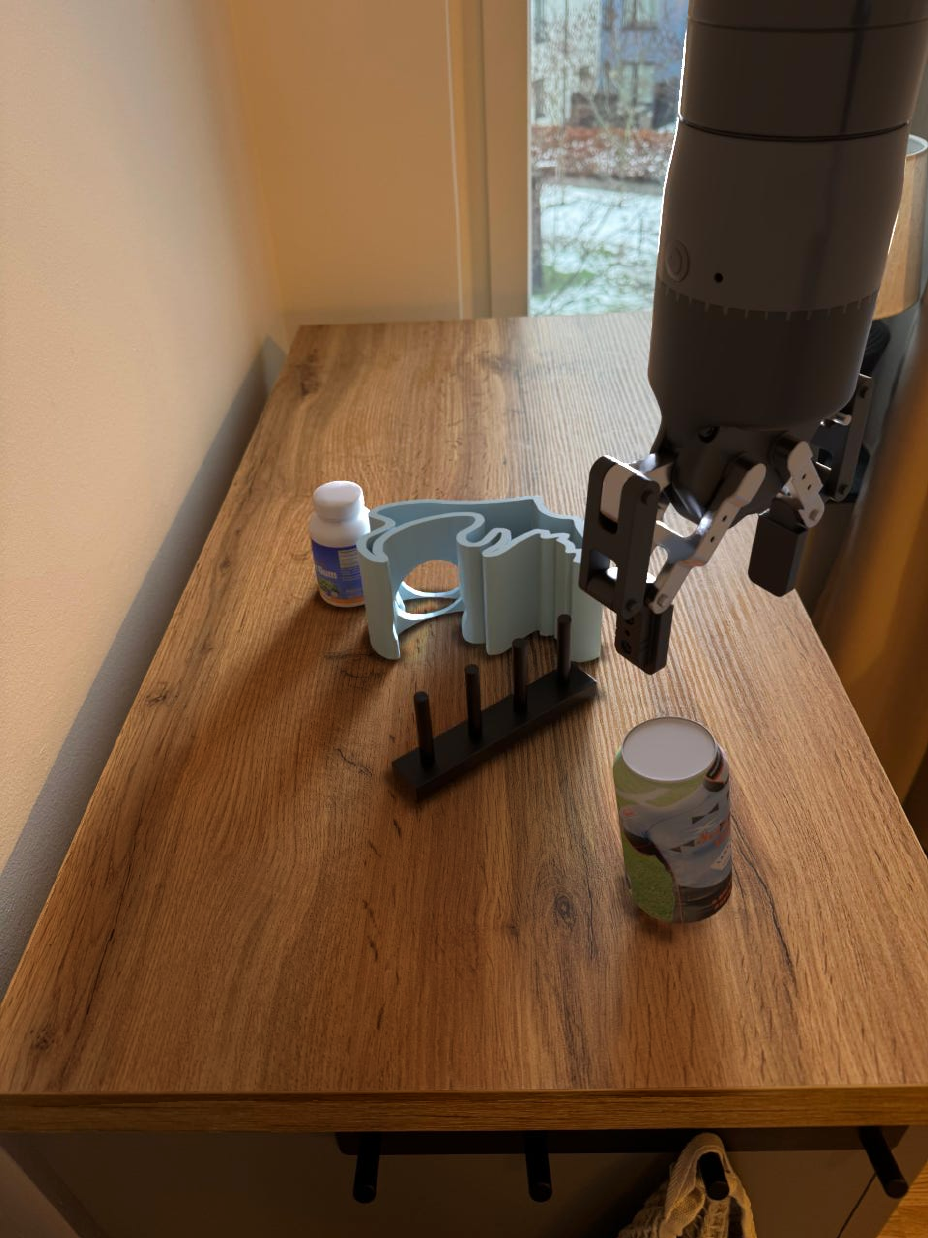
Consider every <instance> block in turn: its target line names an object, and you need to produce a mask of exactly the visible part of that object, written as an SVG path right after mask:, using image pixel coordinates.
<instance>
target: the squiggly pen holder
mask: <svg viewBox="0 0 928 1238" xmlns="http://www.w3.org/2000/svg"><path fill="white" fill-rule="evenodd" d="M368 518H369V525H370V532H369V533H367V534H365V535H363V536H361V537H360V538H359V539H358V541H357V543H356V547H357V554H358V560H359V567H360V574H361V581H362V587H363V594H364V601H365V604H364V607H365V613H366V620H367V627H368V633H369V640H370V645H371V648H373V650H374V651H375V652H376V653H377V654H378V655H380V656H381V657H383V658H386V659H387V660H399V659H400V658H401V652H400V644H399V642H400V641H399V635H401V634H402V633H403V632H404V631H406V630H407V629H410V628H411V627H412V626H415V625H416V624H418V623H421V622H423V621H425V620H429V619H432V618H435V617H438V616H442V615H448V614H452V613H458V612H463V614H462V617H461V630H462V631H461V632H462V637H463V639H464V640H465V642H468V643H470V644H473V645H478V644H479V645H482V644H485V645H486V646H485V647H486V654H487V655H489V656H495V655H499V654H502V653H505V652H506V651H508V650H509V649H510V648H512V642H513V640H514V639H517V638H522V639H524V638H526V637H527V636H528V635H530V634H532V633H534V632H537V631H539V634H540V636H542V637H543V636H544V637H548V636H553V637H554V639H555V640H557V618H558V616H560V615H562V614H567V615H570V616H571V618H572V634H571V662H575V663H584V662H590V661H593V660H596V659H597V658H600V656H601V647H602V632H603V630H602V629H603V612H604V605H603V604H601V603H600V602H598V601H597V600H595V599H594V598H593V597H591V596H590V595H588V594H587V593H585V592H584V591H583V590H581V589H580V588H579V586H578V580H579V570H580V560H581V550H582V540H583V530H584V519H583V518H582V517H581V516H579V515H569V514H567V515H565V514H560V513H556V512H554V511H552V510H551V509H549V508H548V507H547V505H546V503H545V502H544V499H543V498H542V497H541V495H525V496H524V495H523V496H516V497H515V496H514V497H507V498H496V499H484V500H483V499H482V500H450V499H436V498H423V499H410V500H403V501H402V500H401V501H395V502H389V503H385V504H381V505H378V506H376V507H373V508H372V509H369V512H368ZM432 561H444V562H447V563H451V564H453V565H455V566H456V567H457V569H458V572H457V573H458V585H457V586H456V587H455V588H454V589H452V590H451V589H450V590H447V591H442V592H423V591H420V590H417V589H414V588H412V587H411V586H409V585H407V584H406V582H405V579H406V578H407V577H408V575H410V573H411V572H412V571H413V570H415V569H416V568H417V567H418V566H421V565H423V564H425V563H427V562H432ZM424 598H425V599H426V598H447V599H456V600H455V601H454V602H453V603H452V604H450V605H448V606H446V607H445V608H442V609H439V610H437V611H434V612H429V613H424V614H423V613H421V614H419V613H409V612H406V605H405V603H404V601H408V600H413V599H414V600H415V599H424Z"/></svg>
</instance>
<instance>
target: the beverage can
mask: <svg viewBox="0 0 928 1238" xmlns="http://www.w3.org/2000/svg"><path fill="white" fill-rule="evenodd" d="M714 736H715V735H713V733H712V732H711V731H710V730H709V728H708V727H706V726H704V725H703V724H702V723H700V722H698V721H696V720H693V719H691V718H688V717H684V716H677V715H663V716H656V717H652V718H651V717H650V718H648V719H645V720H643V721H640V722H638V723H636V725H634V726H632V727H631V728H630V729H629V730H628V731H627V732H626V734H625V735H624V737H623V739H622V742H621V744H620V747H619V748H618V749H617V751H616V754H615V755H614V758H613V763H612V768H611V769H612V779H613V786H614V793H615V794H614V795H615V801H616V810H617V817H618V823H619V824H618V825H619V833H620V840H621V846H622V847H621V848H622V849H621V850H622V855H623V863H624V870H625V871H624V872H625V879H626V886H627V889H628V894H629V895H630V897H631V899H632V901H633V902H634V903H635V904H636V905H637V907H638V908H639V909H640V910H641V911H643V912H644V913H645V914H647V915H648V916H650V917H652V918H654V919H657V920H660V921H662V922H666V923H670V924H680V925H683V924H685V925H686V924H693V923H697V922H701V921H704V920H707V919H709V918H711V917H712V916H714V915H716V914H717V913H718V912H719V911H720V910H722V909H723V907H724V906H725V905H726V904H727V902H728V901H729V899H730V897H731V894H732V889H733V858H732V854H733V853H732V825H731V824H732V821H731V820H732V819H731V790H730V789H731V787H730V786H731V785H730V784H731V783H730V764H729V760H728V757H727V755H726V753H725V751H724V749H723V747H721V745H720V744H719V743H718V741H716V739H715V737H714Z"/></svg>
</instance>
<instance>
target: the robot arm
mask: <svg viewBox="0 0 928 1238" xmlns="http://www.w3.org/2000/svg"><path fill="white" fill-rule="evenodd" d="M687 15H688V17H686V25H685V26H686V27H685V34H684V35H685V36H684V37H685V38H684V47H683V59H682V67H681V68H682V69H681V79H680V90H679V101H678V116H677V121H676V127H675V128H676V129H675V135H674V140H673V144H672V148H671V149H672V150H671V154H670V157H669V162H668V167H667V172H666V176H665V181H664V187H663V194H662V203H661V213H660V226H659V234H658V235H659V236H658V245H657V257H656V268H655V279H654V289H653V291H654V293H653V302H652V312H651V322H650V323H651V324H650V336H649V344H648V345H649V347H648V359H647V367H646V375H647V380H648V384H649V386H650V389H651V391H652V393H653V396H654V398H655V400H656V402H657V405H658V409H659V412H660V417H661V419H660V424H659V428H658V430H657V434H656V436H655V438H654V440H653V443H652V445H651V448H650V450H649V453H648V455H646V456H642V457H640V458H638V459H636V460H633V461H630V462H627V463H623V462H621V461H619V460H617V459H616V458H614V457H611V456H609V455H607V454H606V455H605V454H604V455H601V456H600V457H598V458H597V459H596V460H595V461H594V463H593V464H592V466H591V467H590V470H589V473H588V480H587V483H588V484H587V489H586V501H585V511H584V519H583V522H584V530H583V540H582V550H581V560H580V570H579V580H578V586H579V588H580V589H581V590H583V591H584V592H585V593H587V594H588V595H590V596H591V597H593V598H594V599H595V600H597V601H598V602H600V603H601V604H603V607H606V609H608V610H610V611H611V612H612V613H614V614H615V616H616V617H615V630H614V642H613V646H614V649H615V651H616V653H617V654H619V655H620V656H621V657H623V658H624V659H625V660H627V661H628V662H629V663H630V664H632V665H633V666H635V667H636V668H638V669H639V670H640V671H642V672H643V673H644V674H646V675H648V676H653V675H655V674H656V673H658V672H660V671H661V670H663V669H665V667H666V666H667V663H668V662H667V661H668V656H669V655H668V654H669V646H670V640H671V639H670V638H671V633H672V631H671V630H672V622H673V616H674V607H675V605H674V604H673V601H674V600H675V598H676V596H677V595H678V592H679V591H680V589H681V587H682V586H683V584H684V582H685V581H686V579H687V577H688V576H689V573H690V572H691V571H692V569H694V568H698V567H699V568H700V567H703V566H704V567H705V566H706V565H707V564H708V563H709V562H710V560H711V559H712V558H713V555H714V554H715V553H716V550H717V548H718V547H719V545H720V543H721V542H722V540H723V538H724V536H725V535H726V534H727V531H728V530H730V529H732V528H733V527H735V526H736V525H738V523H740V522H741V521H742V520H743V519H745V518H746V517H747V516H751V515H755V514H756V515H757V514H758V516H757V521H756V526H755V531H754V537H753V542H752V543H753V544H752V546H751V552H750V559H749V562H748V568H747V575H748V579H749V580H750V582H752V583H753V584H754V585H756V586H758V587H759V588H761V589H762V590H764V591H766V592H768V593H770V594H771V595H773V596H775V597H778V598H782V597H784V596H785V595H787V594H789V593H791V592H792V591H793V590H794V589H795V588H796V584H797V580H798V575H799V571H800V567H801V564H802V559H803V555H804V550H805V547H806V541H807V538H808V534H809V529H812V528H814V527H815V526H816V525H817V524H818V523H819V522H820V521H821V519H822V517H823V515H824V512H825V504H826V503H827V502H828V501H829V500H830V499H831V500H833V501H835V502H837V503H841V501H843V500H845V498H846V497H847V496H848V495H849V494H850V491H851V489H852V486H853V483H854V479H855V475H856V469H857V466H858V461H859V456H860V452H861V449H862V444H863V439H864V434H865V431H866V430H865V429H866V425H867V420H868V415H869V411H870V407H871V402H872V398H873V393H874V389H875V380H874V378H872V377H869V376H867V375H864V374H861V373H860V372H861V368H862V364H863V361H864V355H865V352H866V348H867V344H868V343H867V342H868V340H869V335H870V330H871V327H872V322H873V319H874V314H875V311H876V306H877V303H878V299H879V295H880V291H881V287H882V282H883V278H884V275H885V269H886V267H887V262H888V258H889V253H890V249H891V246H892V241H893V237H894V233H895V229H896V225H897V221H898V218H899V211H900V207H901V202H902V197H903V191H904V190H903V189H904V182H905V172H906V163H907V153H908V152H907V151H908V145H909V137H910V133H911V128H912V121H913V119H912V117H914V114H915V109H916V106H917V105H916V104H917V101H918V97H919V92H920V88H921V84H922V80H923V76H924V72H925V68H926V63H927V60H928V0H688V6H687ZM820 449H822V450H824V451H827V452H829V454H831V457H832V462H831V468H830V467H828V466H826V465H823V464H821V463H819V462H818V458H819V452H820ZM670 505H671V506H672V507H673V509H674V510H675V512H676V513H677V514H678V515H679V516H680V517H682V518H684V519H685V520H688V521H689V522H691V523H693V524H695V525H697V526H696V529H695V530H694V531H693V533H692V534H690V535H689V536H684V535H682V534H681V533H678V532H677V531H675V530H673V529H672V528H670V527H669V526H667V525H666V523H665V519H664V518H665V517H664V516H665V513H666V511H667V509H668V508H669V506H670ZM657 547H661V548H662V549H663V550H664V551H666V553H667V558H666V560H665V562H664V564H663V565H662V567H661V569H660V571H659V572H658V573H657V575H656V577H655V576H654V575H653V574H651V573H650V572H649V567H650V560H651V556H652V554H653V553H654V551H655V549H656V548H657ZM611 561H612V563H614V565H615V566H614V567H611ZM610 567H611V568H610Z"/></svg>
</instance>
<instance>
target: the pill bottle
mask: <svg viewBox="0 0 928 1238" xmlns="http://www.w3.org/2000/svg"><path fill="white" fill-rule="evenodd" d="M312 503H313V510H314V513H312V515H311V516H310V518H309V519H308V527H307V528H308V534H309V540H310V546H311V553H312V556H313V564H314V571H315V575H316V576H315V577H316V581H317V586H318V591H319V594H320V597H321V598H322V599H323V601H325V603H327V604H329V605H331V606H334V607H338V608H353V607H359V606H364V605H365V601H364V594H363V587H362V581H361V574H360V567H359V560H358V554H357V547H356V543H357V541H358V539H359V538H360V537H361V536H363V535H365V534H367V533H369V532H370V525H369V518H368V512H369V511H370V509H368V508H367V507H366V506H365V500H364V494H363V489H362V487H360V485H358V484H357V483H355V482H353V481H352V482H351V481H347V480H335V481H330V482H326V483H323V484H322V485H320V486H319V487H317V488H316V489H315V490H314V491H313V494H312Z"/></svg>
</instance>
